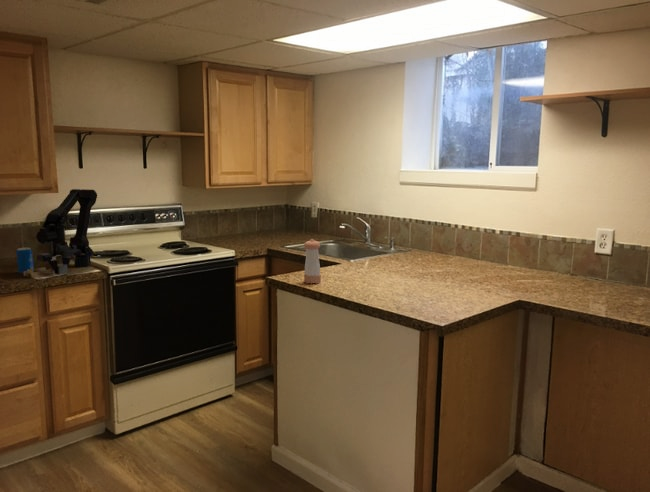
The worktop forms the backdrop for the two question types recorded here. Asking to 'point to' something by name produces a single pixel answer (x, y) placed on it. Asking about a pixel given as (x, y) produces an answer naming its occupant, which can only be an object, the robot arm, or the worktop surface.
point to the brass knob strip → (29, 273)
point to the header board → (42, 273)
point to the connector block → (62, 269)
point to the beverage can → (24, 259)
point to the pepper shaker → (312, 262)
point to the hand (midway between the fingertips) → (61, 272)
